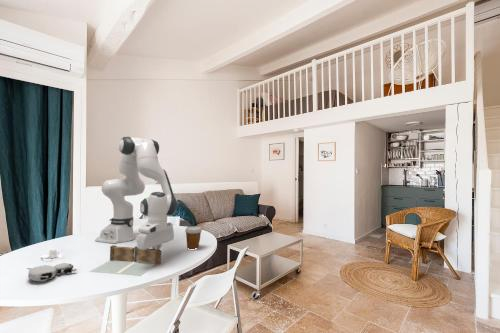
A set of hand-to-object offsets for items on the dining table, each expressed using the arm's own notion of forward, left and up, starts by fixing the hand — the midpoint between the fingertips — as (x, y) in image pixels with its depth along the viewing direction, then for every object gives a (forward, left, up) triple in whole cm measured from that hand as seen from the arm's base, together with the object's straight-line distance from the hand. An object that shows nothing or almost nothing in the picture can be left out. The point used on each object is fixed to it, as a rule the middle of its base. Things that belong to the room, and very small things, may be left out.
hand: (156, 253), depth 119 cm
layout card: (-11, -5, -5) cm, 13 cm away
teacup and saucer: (-56, -1, -6) cm, 56 cm away
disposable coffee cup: (+10, +25, -5) cm, 27 cm away
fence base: (-16, -1, -4) cm, 17 cm away
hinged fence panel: (-3, -2, -3) cm, 5 cm away
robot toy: (-35, -21, -5) cm, 41 cm away
